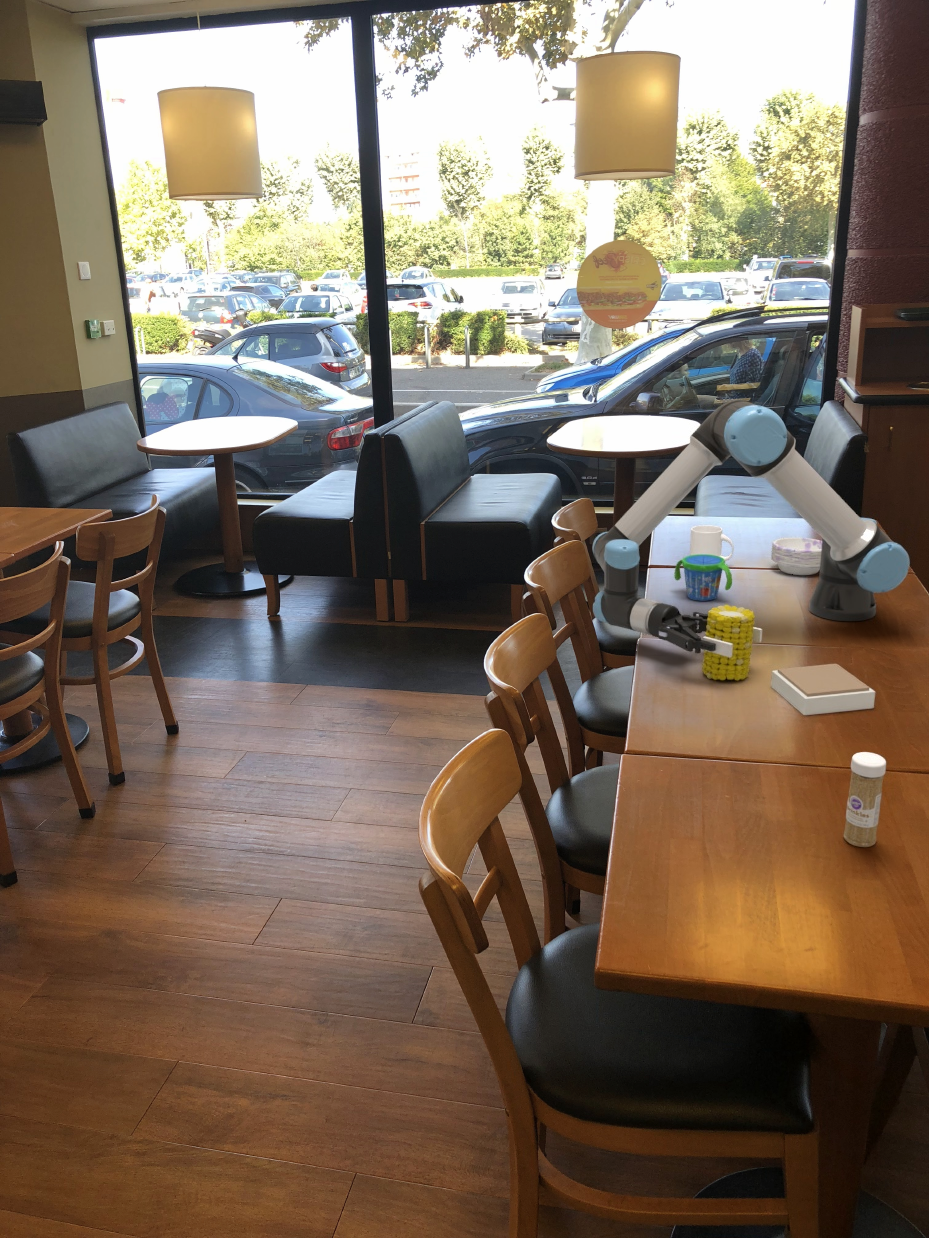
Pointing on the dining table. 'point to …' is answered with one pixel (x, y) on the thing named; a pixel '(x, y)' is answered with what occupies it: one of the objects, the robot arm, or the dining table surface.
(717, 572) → the snack cup
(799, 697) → the plinth
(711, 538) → the mug
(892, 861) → the dining table surface
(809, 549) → the paper bowls
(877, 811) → the sprinkles bottle
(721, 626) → the food
